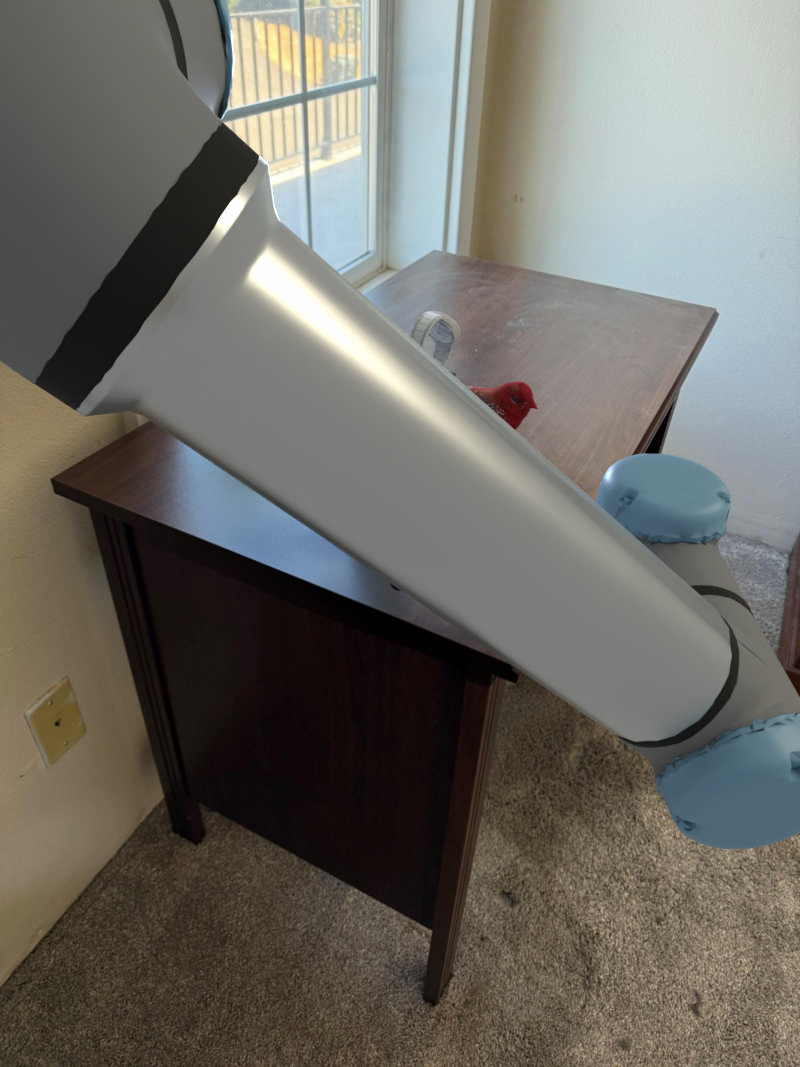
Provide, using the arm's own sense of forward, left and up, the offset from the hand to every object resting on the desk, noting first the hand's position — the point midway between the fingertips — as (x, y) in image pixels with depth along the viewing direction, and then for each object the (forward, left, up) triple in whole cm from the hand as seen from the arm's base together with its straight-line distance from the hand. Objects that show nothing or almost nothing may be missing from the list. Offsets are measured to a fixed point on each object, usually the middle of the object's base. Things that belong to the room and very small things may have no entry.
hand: (338, 460), depth 72 cm
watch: (+15, +25, -7) cm, 30 cm away
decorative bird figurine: (+17, +13, -7) cm, 23 cm away
